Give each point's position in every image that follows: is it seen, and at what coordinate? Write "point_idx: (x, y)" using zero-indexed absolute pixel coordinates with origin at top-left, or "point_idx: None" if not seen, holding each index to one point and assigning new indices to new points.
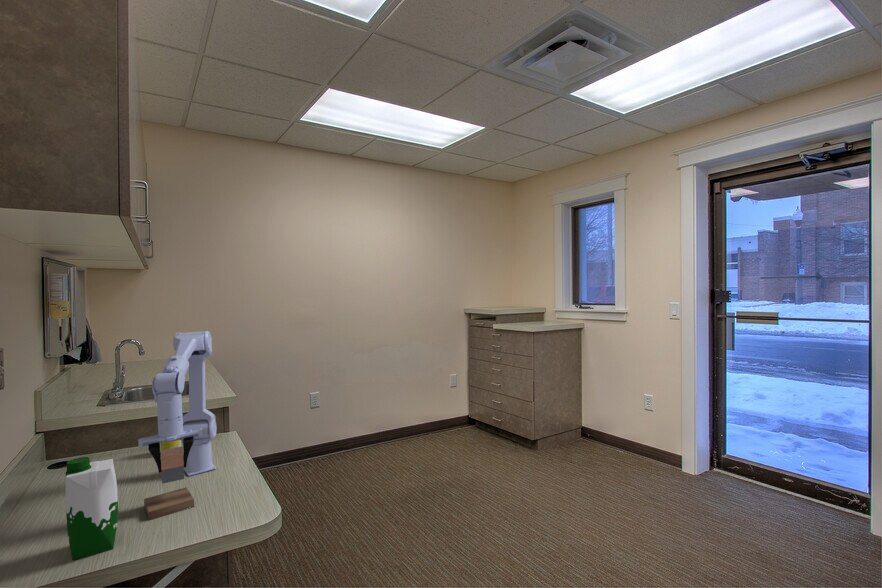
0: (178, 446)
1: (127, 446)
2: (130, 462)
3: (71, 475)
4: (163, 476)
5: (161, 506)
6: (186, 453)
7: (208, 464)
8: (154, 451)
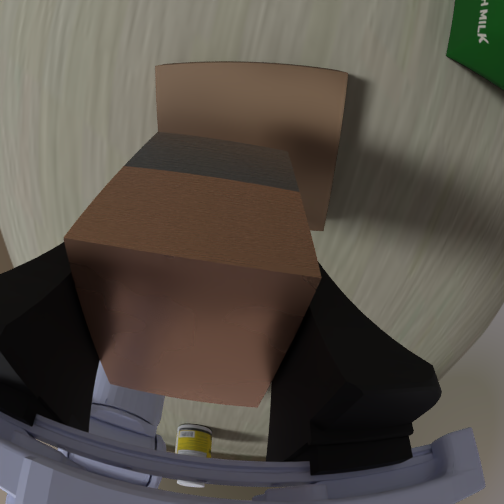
0: (181, 435)
1: (252, 457)
2: (263, 431)
3: None
4: (282, 166)
5: (292, 88)
6: (62, 256)
7: None
8: (391, 362)
